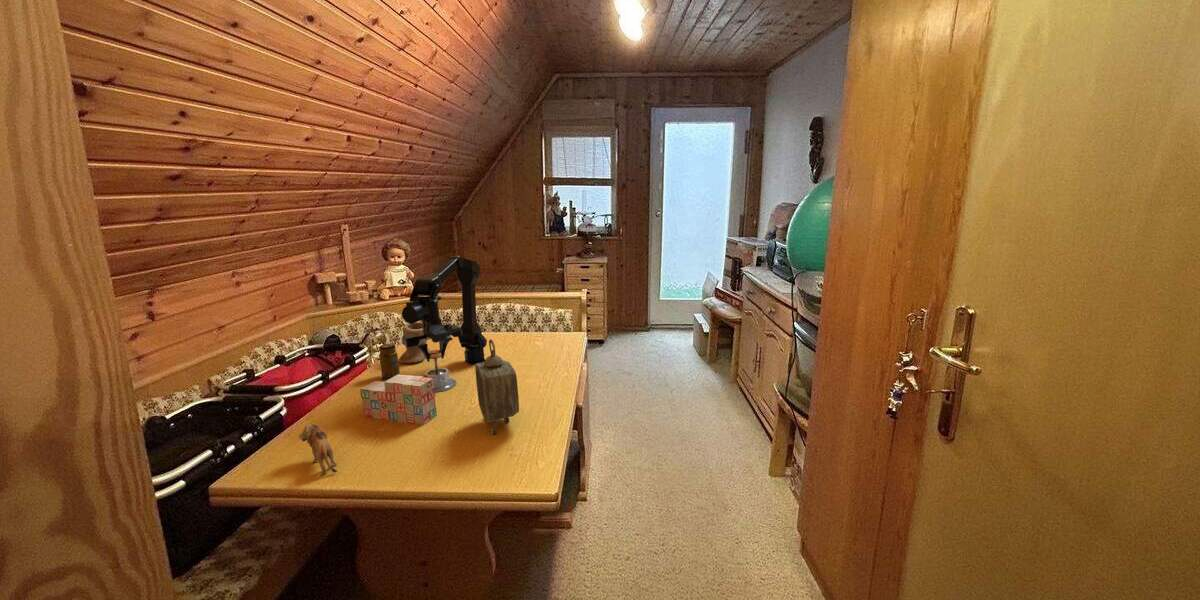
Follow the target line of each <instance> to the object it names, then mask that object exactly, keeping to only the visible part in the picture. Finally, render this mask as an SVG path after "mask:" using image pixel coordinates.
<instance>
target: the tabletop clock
mask: <svg viewBox="0 0 1200 600" xmlns="http://www.w3.org/2000/svg"><path fill="white" fill-rule="evenodd" d="M488 345H489V352H490V355H489V356H487V357H486V358H485V359H486V360H485V362H481V363H477V364H474V368H475V369H474V370H475V380H476V390H477V391H476V392H477V398H478V405H479V409H480V412H481V414H482V417H483V420H484V422H485V423H489V422H492V421H493V428H491V429H490V434H492V435H496V434H497V432H498V430H497V423H498V422H499V420H503V422H504V423H509V422H510V417H511V418H512V417H514V416H516V415H517V414H518V413H519V411H520V401H519V398H520V397H519V390H518V389H519V388H518V387H519V386H518V380H517V379H518V378H517V377H518V376H517V374H516V373H517V372H516V370H515V369H514V367H513V365H512V364H511V363H510V362H509V361H507V360H504V359H502V357H501V356H499V355H497V354H496V345H495V342H494V340H493V339H491V338H490V339H489V340H488Z"/></svg>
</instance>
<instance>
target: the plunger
mask: <svg viewBox="0 0 1200 600" xmlns="http://www.w3.org/2000/svg"><path fill="white" fill-rule="evenodd" d="M428 354H429V360H433V361H434V369H435V371H432V372H430V375H440V374H443V373H444V371H443V370H438V368H439V367H438V359H439V358H441V357H442V352H441V350H440V349H432V350H430V351H429V352H428Z"/></svg>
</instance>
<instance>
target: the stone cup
mask: <svg viewBox="0 0 1200 600" xmlns="http://www.w3.org/2000/svg"><path fill="white" fill-rule="evenodd" d="M422 330H423V326H422V322H421V321H418V322H415V323H413V324H409V323H406V324H405V325H404V326H403V330H402V337H403V336H404V335H409V334H415V335H417V336H419V335H423V333H422ZM427 341H428V340H425V343H426V344H427ZM405 349H406V350H405V351H404V352H403V353H402V354H401V356H400V357H398V362H399V363H404V364H406V363H407V364H412V363H419V362H422V361H423V360H425V359H426V358H425V356H424V354H423V352H422V350H421V349H420V348H419V347H417V346H413V347H406V346H405ZM427 349H428V352H429V351H431V349H429V348H428V347H427Z"/></svg>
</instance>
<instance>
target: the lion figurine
mask: <svg viewBox="0 0 1200 600" xmlns="http://www.w3.org/2000/svg"><path fill="white" fill-rule="evenodd" d="M327 436H328V435H327V434H326V432H325V431H324V430H323V429H322V428H321V427H319V425H317V424H314V423H310V424H307V425H305V426H304V430H302V433H300V434H299V435H298V436H297V437H298V438H299V440H301V441H302V442H306V441H307V442H306V443H307V444H308V445H309V446H310V448H311V452H312V454H313V457H314V459H313V460H312V463H318V465H319V466H320V469H321V476H325V475H326V474H327V473H328V472H327V469H326V466H325V464H324V461H325V463H326V465H327V467H328V469H330V470H331V471H332V473H335V474H336V473H338V470H337V469H336V468H334V467H336V466H337V465H338V463H337V462H336V461H335V459H334V453H333V449H332V446H331V445H330V442H329V441H328V437H327ZM329 460H330V461H329ZM317 461H318V462H317Z"/></svg>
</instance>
